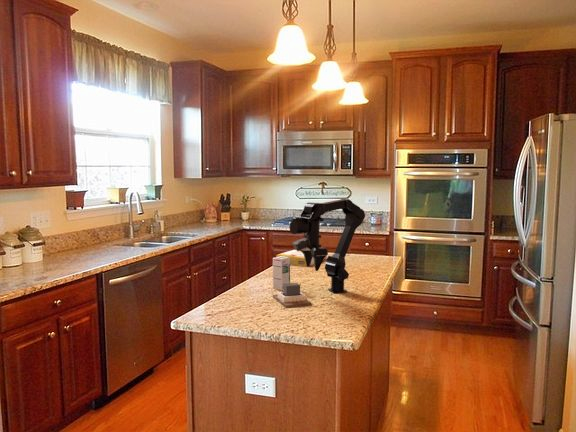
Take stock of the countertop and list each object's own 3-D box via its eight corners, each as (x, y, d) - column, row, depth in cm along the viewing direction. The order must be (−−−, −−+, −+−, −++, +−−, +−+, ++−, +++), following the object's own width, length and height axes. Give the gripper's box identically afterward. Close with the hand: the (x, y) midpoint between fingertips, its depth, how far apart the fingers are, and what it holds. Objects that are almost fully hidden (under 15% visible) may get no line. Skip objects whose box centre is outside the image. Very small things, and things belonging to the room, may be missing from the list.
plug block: (283, 298, 193) (283, 283, 193) (296, 296, 195) (296, 282, 195) (286, 300, 190) (286, 286, 189) (300, 299, 192) (300, 284, 191)
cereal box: (275, 254, 270) (297, 247, 295) (275, 263, 270) (297, 256, 295) (307, 258, 260) (327, 250, 285) (307, 268, 261) (327, 259, 286)
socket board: (272, 297, 198) (272, 290, 198) (296, 295, 202) (296, 288, 202) (285, 307, 183) (285, 300, 183) (311, 305, 187) (311, 297, 187)
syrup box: (281, 290, 209) (281, 258, 208) (272, 288, 213) (272, 257, 212) (290, 288, 213) (290, 257, 212) (281, 286, 217) (281, 255, 216)
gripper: (287, 230, 203) (287, 265, 205) (303, 236, 186) (303, 274, 187) (310, 229, 207) (310, 264, 209) (328, 234, 190) (328, 272, 191)
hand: (312, 268), depth 199 cm, fingers open, 9 cm apart
